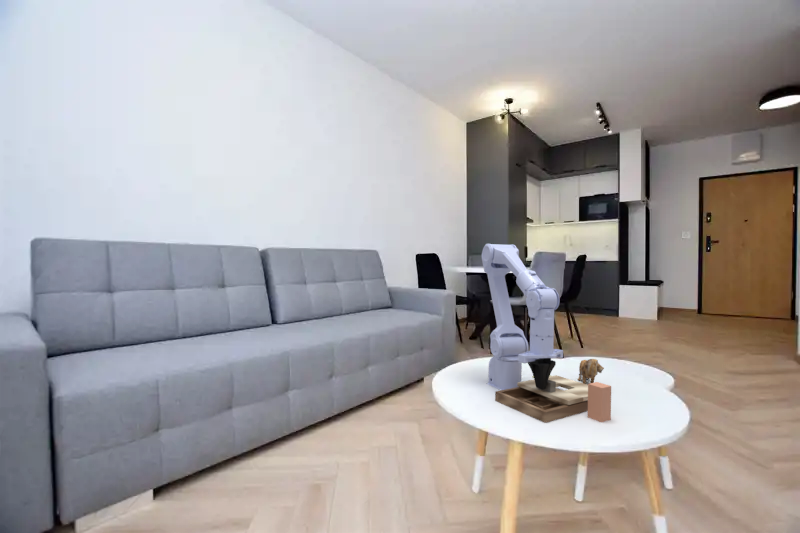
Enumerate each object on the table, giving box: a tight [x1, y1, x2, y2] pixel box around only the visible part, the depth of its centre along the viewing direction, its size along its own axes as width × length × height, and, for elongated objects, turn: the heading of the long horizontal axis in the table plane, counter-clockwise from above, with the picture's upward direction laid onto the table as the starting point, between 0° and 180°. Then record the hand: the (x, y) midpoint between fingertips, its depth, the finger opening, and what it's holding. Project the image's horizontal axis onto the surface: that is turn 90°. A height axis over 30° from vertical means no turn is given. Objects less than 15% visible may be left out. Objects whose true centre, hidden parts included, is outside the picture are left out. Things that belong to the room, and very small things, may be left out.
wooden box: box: [494, 387, 588, 424], centre depth 96 cm, size 16×16×3 cm
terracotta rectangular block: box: [587, 381, 612, 423], centre depth 89 cm, size 4×4×8 cm
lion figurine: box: [577, 358, 605, 384], centre depth 118 cm, size 15×5×9 cm, turn 173°
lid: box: [517, 374, 588, 405], centre depth 100 cm, size 16×16×4 cm
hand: (540, 387), depth 96 cm, fingers closed
